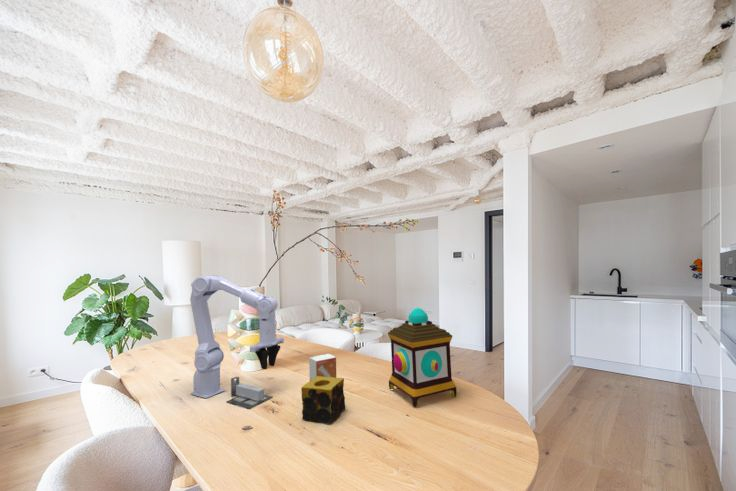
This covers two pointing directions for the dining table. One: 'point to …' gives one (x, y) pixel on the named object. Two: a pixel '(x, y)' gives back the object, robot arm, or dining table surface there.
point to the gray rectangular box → (250, 392)
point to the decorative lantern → (421, 358)
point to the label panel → (247, 401)
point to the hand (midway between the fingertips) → (268, 367)
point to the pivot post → (234, 386)
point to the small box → (322, 366)
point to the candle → (323, 399)
